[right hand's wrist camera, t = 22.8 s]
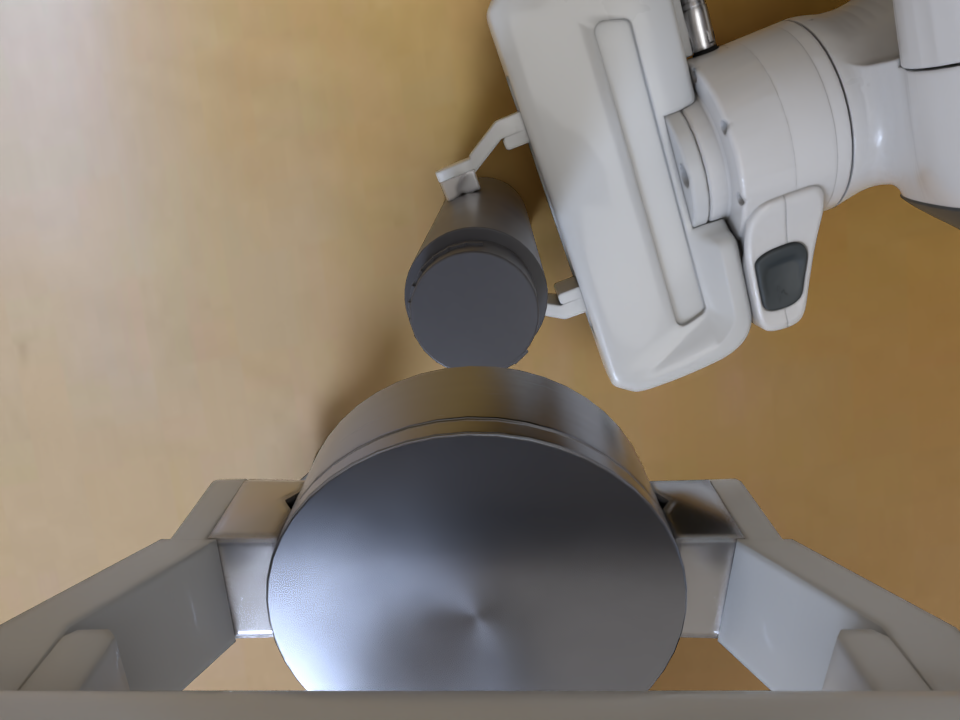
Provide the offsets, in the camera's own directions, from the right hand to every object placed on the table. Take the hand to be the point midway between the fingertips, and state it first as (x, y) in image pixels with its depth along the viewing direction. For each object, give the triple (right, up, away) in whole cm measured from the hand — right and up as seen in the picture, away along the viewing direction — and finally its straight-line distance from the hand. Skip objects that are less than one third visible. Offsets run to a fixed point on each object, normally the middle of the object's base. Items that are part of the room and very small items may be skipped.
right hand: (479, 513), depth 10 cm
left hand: (-1, +8, +21) cm, 23 cm away
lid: (0, -1, -2) cm, 2 cm away
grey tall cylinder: (0, +11, +26) cm, 28 cm away
